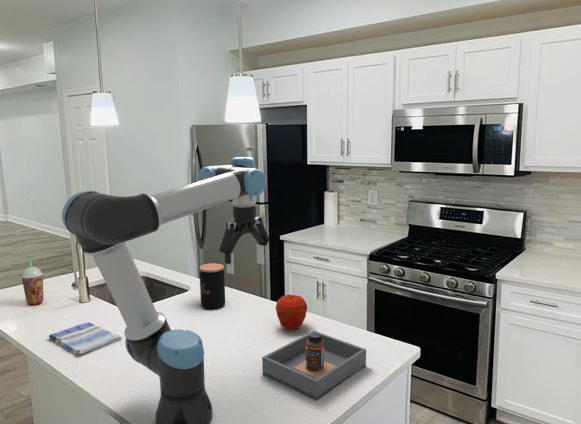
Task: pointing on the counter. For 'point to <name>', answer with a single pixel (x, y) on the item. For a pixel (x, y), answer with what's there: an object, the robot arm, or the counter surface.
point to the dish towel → (84, 338)
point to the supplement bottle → (314, 352)
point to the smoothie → (33, 285)
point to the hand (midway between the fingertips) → (245, 268)
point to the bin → (315, 384)
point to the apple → (291, 311)
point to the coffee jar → (212, 286)
